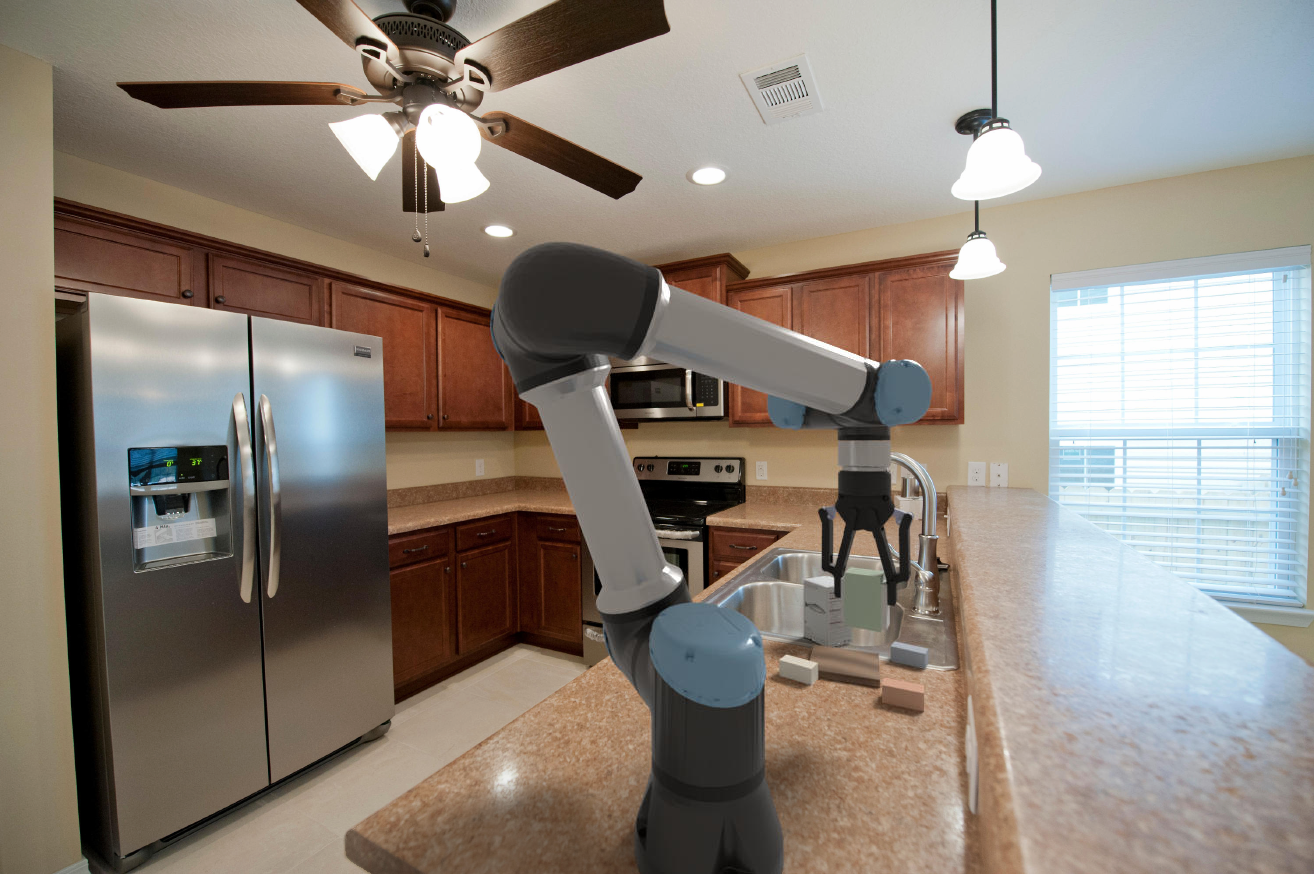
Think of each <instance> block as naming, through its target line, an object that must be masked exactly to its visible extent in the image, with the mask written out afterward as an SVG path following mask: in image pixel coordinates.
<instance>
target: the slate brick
mask: <svg viewBox="0 0 1314 874" xmlns="http://www.w3.org/2000/svg"><path fill="white" fill-rule="evenodd" d="M929 653H930V652H929V648H928V647H927V648H926V647H922V646H918V645H917V646H916V645H913V644H910V643H909V644H908V643H904V642H899V641H893V643H891V645H890V661H891V662H895V663H899V664H902V665H906V666H911V667H914V668H917V669H918V668H919V669H924V670H926V669H927V667H928V666H929V664H930V662H929V661H930V660H929V659H930V657H929V656H930V655H929ZM928 663H929V664H928ZM927 665H928V666H927Z"/></svg>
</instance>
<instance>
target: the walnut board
mask: <svg viewBox="0 0 1314 874" xmlns="http://www.w3.org/2000/svg"><path fill="white" fill-rule="evenodd" d="M811 650H812V651H811V653H810V654H811V655H810V659H809V661H812V662H816V663H818V678H822V679H829V680H835V681H840V682H846V683H852V684H853V683H854V684H859V685H865V686H872V687H876V688H877V687H878V688H881V674H880V673H881V671H880V670H881V669H880V656H879V655H880V654H879V653H878V652H870V651H861V650H856V649H849V648H841V647H828V646H822V645H821V644H813V647H812V649H811Z"/></svg>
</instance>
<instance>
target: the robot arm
mask: <svg viewBox="0 0 1314 874" xmlns="http://www.w3.org/2000/svg"><path fill="white" fill-rule="evenodd" d="M665 280H666V279H665V278H664V276H663V274H662V272H661V270H660V269H658V268H656V267H654V266H651V265H648V264H646V263H643V262H640V261H638V260H635V259H632V258H630V257H628V256H624V255H621V254H618V253H616V252H612V251H609V250H606V249H604V248H603V249H602V248H600V247H599V248H598V247H595V246H591V245H588V244H587V245H586V244H582V243H578V242H577V243H576V242H569V241H548V242H544V243H540V244H536V245H534V246H532V247H529V248H527V249H526V250H524V251H522V252H521V253H520V254H518V255H517V256H516V257H515V258H513V260H512V261H511V262H510V264H509V265H508V266H507V268H506V269H505V271H504V273H503V275H502V277H501V280H500V283H499V289H498V294H497V297H496V300H495V301H494V303H493V307H492V309H491V315H490V322H489V323H490V324H489V326H490V335H491V339H492V342H493V346H494V349H495V350H496V352H497V354H499V357H500V359H502V360H503V362H504V363H505V364H506V366H507V367H508V370H509V373H510V376H511V379H512V381H513V384H514V386H515V389H516V391H517V394H518V397H519V399H521V400H523V401H525V402H527V403H529V404H531V405H533V406H534V407H536V408H537V411H538V414H539V417H540V420H541V422H542V425H543V428H544V431H545V432H546V433H545V434H546V436H547V439H548V441H549V444H550V446H551V449H552V453H553V455H554V457H555V458H554V459H555V461H556V463H557V466H558V469H559V470H560V471H559V472H560V474H561V477H562V480H563V483H564V486H565V488H566V490H567V493H568V496H569V499H570V501H571V504H572V507H573V510H574V512H575V514H576V518H577V521H578V522H579V526H580V529H581V531H582V532H581V533H582V534H583V537H584V539H585V542H586V544H587V548H588V550H589V554H590V557H591V559H592V562H593V564H594V568H595V570H596V573H597V575H598V579H599V580H600V583H601V586H602V587H601V589H600V592H599V594H598V596H597V597H596V601H595V606H596V609H597V611H598V614H599V616H600V620H601V623H602V634H603V640H604V644H605V648H606V651H607V653H608V655H609V657H610V659H611V661H612V662H613V664H614V665H615V666H616V667H617V669H618V670H619V671H620V672H621V673H622V674H623V675H624V677H626V679H627V680H628V681H629V683H630V684H631V686H632V687H633V688H634V689H635V691H636V693H637V694H638V695H639V696H640V698H641V699H642V701H643V702H644V703H645V705H646V706H647V708H649V712H650V723H651V724H650V729H651V732H650V733H651V737H650V738H651V742H650V743H651V745H650V748H651V749H650V750H651V751H650V752H651V767H650V768H651V769H650V770H651V771H650V773H649V774H650V775H649V776H648V779H647V783H646V786H645V789H644V794H643V796H642V799H641V802H640V805H639V809H638V812H637V816H636V818H635V819H636V820H635V825H634V857H635V862H636V865H637V868H638V870H639V873H640V874H783V871H784V870H783V869H784V865H785V864H784V863H785V859H784V857H785V856H784V855H785V854H784V853H785V852H784V849H785V848H784V834H783V829H782V825H781V821H780V819H779V816H778V812H777V809H776V806H775V803H774V800H773V796H772V793H771V791H770V788H769V784H768V781H767V777H766V713H765V712H766V703H765V702H766V696H765V695H766V692H765V691H766V689H765V687H766V683H765V682H766V678H767V666H766V665H767V664H766V663H767V662H766V660H765V650H764V642H763V638H762V634H761V632H760V630H759V629H758V628H757V626H756V625H755V624H754V622H753V621H751V620H750V619H749V618H748V617H747V616H745V615H744V614H742V613H741V612H739V611H737V610H734V609H732V608H730V607H727V606H726V607H719V606H718V605H717V604H714V603H708V602H694V601H693V599H692V596H691V593H690V590H689V587H688V585H687V582H686V579H685V576H684V574H683V573H684V572H683V570H682V569H681V568H680V567H679V566H677V565H675V564H671V563H669V562H668V561H667V560H666V558H665V553H664V552H663V549H662V546H661V543H660V540H659V537H658V534H657V531H656V527H655V526H654V523H653V521H652V517H651V515H650V512H649V508H648V506H647V503H646V499H645V498H644V494H643V492H642V489H641V486H640V483H639V480H638V478H637V474H636V472H635V468H634V466H633V462H632V460H631V457H630V454H629V452H628V449H627V446H626V443H625V439H624V437H623V434H622V432H621V429H620V426H619V423H618V420H617V417H616V414H615V411H614V409H613V406H612V403H611V400H610V396H609V394H608V390H607V388H606V386H605V385H606V380H607V379H608V378H607V377H608V376H609V374H610V371H611V369H612V366H611V363H610V360H609V357H612V358H615V359H618V360H622V361H624V362H625V361H626V362H629V363H630V362H634V361H635V360H637V359H638V358H640V357H643V356H644V357H647V358H649V359H652V360H656V361H658V362H662V363H665V364H668V365H669V364H670V365H672V366H675V367H679V368H682V369H684V370H688V371H691V372H695V373H698V374H702V375H705V376H708V377H710V378H714V379H718V380H721V381H724V382H728V383H731V384H734V385H738V386H740V387H744V388H747V389H751V390H753V391H756V392H760V393H764V394H767V407H766V408H767V414H768V417H769V419H770V421H771V423H773V425H774V426H776V427H777V428H780V429H785V430H786V429H787V430H793V431H798V430H818V431H819V430H835V431H837V466H838V467H840V468H841V470H839V471H838V472H837V499H836V501H835V502H834V505H831V506H823V507H821V508H819V509H818V510H817V513H818V516H819V520H820V522H821V561H820V562H821V564H820V565H821V566H820V567H821V570H822V571H823V572H825V573H826V572H827V573H828V574H830V575H832V577H833V578H834V595H835V597H838V598H841V621H842V622H845V572H846V571H847V570H846V568H847V565H848V561H849V557H850V553H851V550H852V546H853V543H854V539H855V535H856V533H857V531H866V532H869V533H870V532H871V533H872V536H873V539H874V541H875V544H876V545H875V546H876V548H877V551H878V555H879V559H880V563H881V566H882V571H884V574H885V580H884V581H883V582H882V584H881V629H882V630H888V629H889V627H890V625H891V624H890V623H891V618H890V617H891V615H890V613H891V612H890V611H891V610H890V608H891V607H890V606H892V607H895V606H896V605H897V603H898V584H899V583H902V582H903V583H905V582H906V583H907V582H908V581H909V580H910V578H911V576H912V566H911V565H912V563H911V560H912V559H911V526H912V523H913V520H914V519H915V518H914V517H915V515H914V513H913V512H912V511H904V510H901V509H899V508H896V505H895V504H894V502H893V499H892V473H891V472H890V470H888V468H890V467H891V466H892V445H891V444H892V442H891V428H894V427H896V426H899V425H907V424H913V423H916V422H918V421H919V420H920V419H922V418H923V417H924V416H925V415H926V414H927V412H928V410H929V408H930V406H931V400H932V395H933V386H932V381H931V379H930V376H929V373H928V371H926V369H925V368H924V367H923V366H922V365H921V364H919V363H918V362H917V361H914V360H911V359H900V360H899V359H898V360H896V359H889V360H887V361H885V362H879V361H875V360H873V359H871V358H867V357H863V356H861V355H857V354H855V353H852V352H850V351H847V350H844V349H842V348H839V347H837V346H835V345H832V344H828V343H825V342H824V341H821V340H818V339H815V338H814V337H813V338H812V337H810V336H807V335H804V334H802V333H800V332H796V331H794V330H791V329H789V328H786V327H783V326H781V325H778V324H775V323H773V322H770V321H768V320H764V319H762V318H760V317H757V316H754V315H752V314H749V313H746V312H743V311H741V310H738V309H735V308H733V307H730V306H727V305H725V304H722V303H719V302H717V301H714V300H711V299H708V298H706V297H703V296H700V295H698V294H695V293H694V292H689V291H687V290H685V289H682V288H679V287H676V286H673V285H671V284H668V283H666V281H665ZM837 513H838V515H839V516H840V518H841V519H842V520H843V523H844V524H845V525H844V529H843V533H842V534H843V535H842V539H841V543H840V547H839V551H838V554H837V556H836V561H835V564H834V520H835V518H836V514H837ZM892 516H894V518H895V524H896V525H898V526H899V527H898V555H899V557H898V560H899V561H898V562H899V563H898V564H899V565H898V566H899V571H898V572H897V570H896V566H895V563H894V560H893V556H892V553H891V548H890V545H889V541H888V538H887V534H886V533H887V532H886V528H885V525H886V523H887V522H888V521H889V520H890V518H891V517H892Z"/></svg>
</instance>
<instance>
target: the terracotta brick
mask: <svg viewBox="0 0 1314 874" xmlns="http://www.w3.org/2000/svg"><path fill="white" fill-rule="evenodd" d="M881 702H882V703H883V704H887V705H892V706H898V707H901V708H907V709H911V710H915V711H920V712H925V705H926V702H925V685H924V684H918V683H914V682H908V681H903V680H898V679H894V678H893V679H892V678H888V677H883V679H882V683H881Z"/></svg>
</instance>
